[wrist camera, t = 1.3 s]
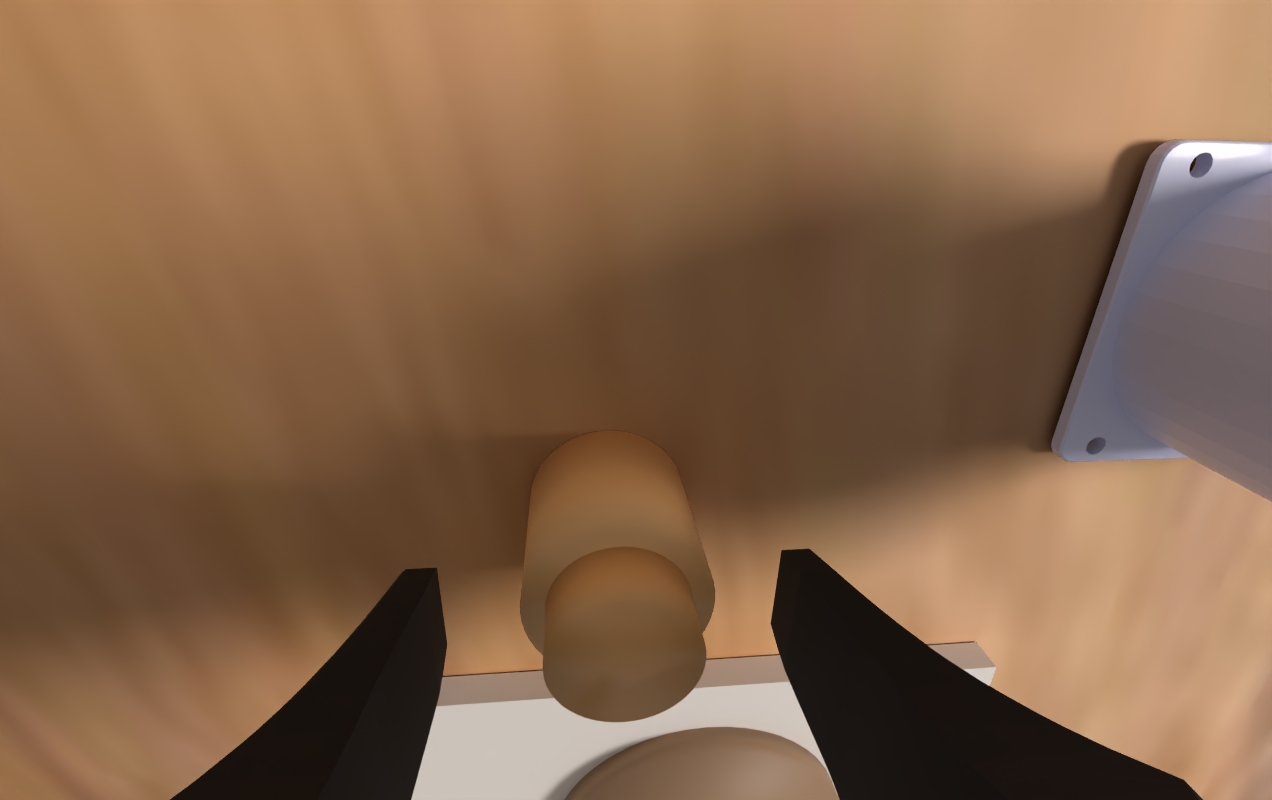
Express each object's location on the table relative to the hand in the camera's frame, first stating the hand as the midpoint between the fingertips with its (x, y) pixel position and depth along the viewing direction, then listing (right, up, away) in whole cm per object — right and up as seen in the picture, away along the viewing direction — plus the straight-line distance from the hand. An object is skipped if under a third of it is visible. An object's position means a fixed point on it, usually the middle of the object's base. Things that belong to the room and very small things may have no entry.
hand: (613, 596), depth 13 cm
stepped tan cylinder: (0, +2, +3) cm, 4 cm away
